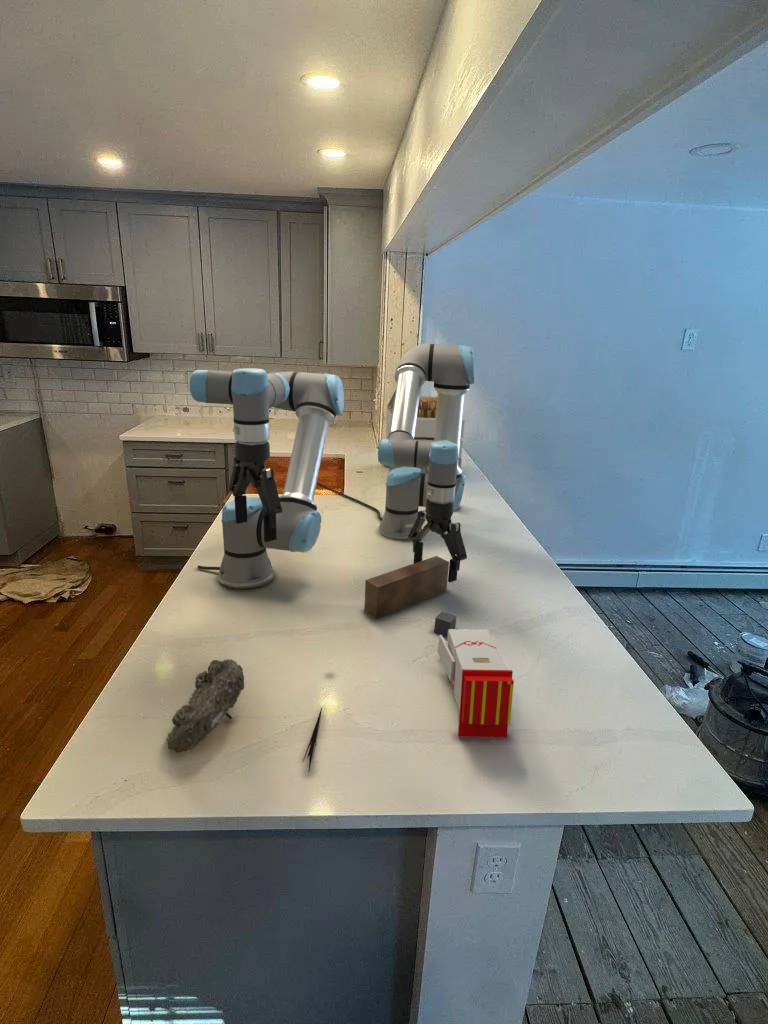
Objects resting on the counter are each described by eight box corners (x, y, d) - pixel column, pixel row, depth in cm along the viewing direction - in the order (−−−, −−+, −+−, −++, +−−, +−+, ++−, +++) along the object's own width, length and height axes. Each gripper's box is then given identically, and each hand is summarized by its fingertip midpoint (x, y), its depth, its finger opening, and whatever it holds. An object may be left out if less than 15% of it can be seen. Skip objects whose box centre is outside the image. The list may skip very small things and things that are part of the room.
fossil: (192, 660, 117) (244, 628, 112) (224, 691, 120) (276, 661, 115) (142, 746, 98) (202, 712, 93) (182, 779, 101) (242, 748, 96)
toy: (488, 613, 130) (523, 677, 101) (484, 667, 133) (517, 744, 104) (435, 612, 130) (455, 676, 101) (432, 666, 133) (451, 743, 103)
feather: (331, 679, 122) (336, 673, 122) (307, 777, 96) (313, 769, 95) (324, 675, 122) (329, 669, 121) (298, 772, 95) (304, 764, 95)
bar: (376, 618, 145) (377, 587, 142) (364, 610, 148) (365, 580, 145) (446, 590, 161) (449, 561, 158) (434, 584, 165) (436, 555, 161)
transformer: (382, 463, 289) (386, 382, 275) (445, 464, 293) (451, 384, 279) (390, 482, 257) (394, 392, 243) (460, 483, 261) (468, 394, 247)
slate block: (434, 632, 140) (435, 617, 139) (440, 624, 143) (441, 610, 142) (448, 636, 138) (450, 622, 137) (455, 629, 142) (456, 615, 140)
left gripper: (211, 432, 131) (216, 518, 138) (265, 455, 113) (268, 552, 121) (240, 429, 136) (244, 512, 143) (297, 451, 118) (298, 544, 125)
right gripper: (398, 490, 158) (394, 560, 165) (465, 515, 140) (458, 592, 147) (418, 486, 163) (413, 554, 170) (485, 510, 145) (477, 584, 152)
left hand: (255, 531), depth 132 cm, fingers open, 13 cm apart
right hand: (434, 572), depth 159 cm, fingers open, 13 cm apart
